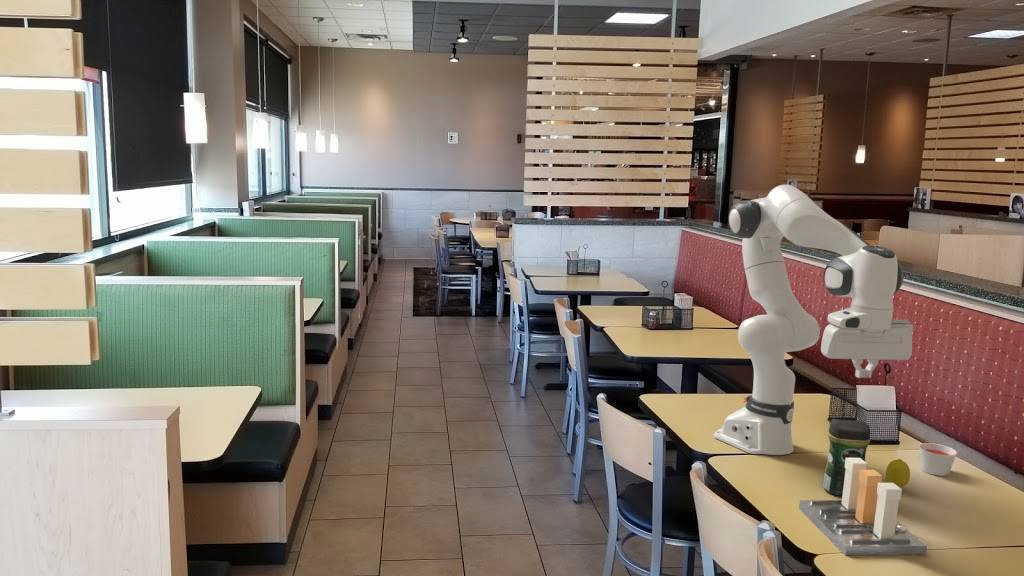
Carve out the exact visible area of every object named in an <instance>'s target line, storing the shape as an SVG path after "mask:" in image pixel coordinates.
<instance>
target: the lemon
mask: <svg viewBox="0 0 1024 576" xmlns="http://www.w3.org/2000/svg"><path fill="white" fill-rule="evenodd" d="M910 477H911V469H910V467H909V465H908V463H907V462H906V461H904V460H902V459H901V458H898V459H894V460H891V461H890V462H889V463H888V465H887V466H886V470H885V478H886V481H887V483H894V484H895V485H897V486H898V487H899V488H903V487H905V486H906V485H907V484H908V483H909V481H910Z"/></svg>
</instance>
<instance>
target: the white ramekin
mask: <svg viewBox="0 0 1024 576" xmlns="http://www.w3.org/2000/svg"><path fill="white" fill-rule="evenodd" d="M918 450H919V452H918V453H919V465H920V469H921V471H923V472H925V474H926V473H927V474H929V475H933V476H938V477H939V476H940V477H942V476H943V477H944V476H948V475H949V474H950V473H951V469H952V467H953V464H954V462H955V459H956V457H957V456H956V455H957V450H955V449H954V448H952V447H950V446H947V445H944V444H939V443H935V442H933V443H932V442H923V443H922V442H921V443H920V444H919V445H918Z"/></svg>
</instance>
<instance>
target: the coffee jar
mask: <svg viewBox="0 0 1024 576" xmlns="http://www.w3.org/2000/svg"><path fill="white" fill-rule="evenodd" d="M827 432H828V433H827V436H828V439H829V449H828V456H827V461H826V464H825V469H824V473H823V480H822V486H823V488H824V490H825V491H826V492H828V493H829V494H831V495H834V496H840V497H842V495H843V487H844V479H845V470H846V468H845V460H846V458H861V459H862V460H863V461H865V462H866V453H867V449H868V446H869V445H870V443H871V429H870V425H869V424H868V423H867V422H865V421H864V420H853V419H852V420H849V419H837V418H836V419H835V418H832V419H831V420H830V423H829V428H828V431H827Z"/></svg>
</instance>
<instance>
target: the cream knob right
mask: <svg viewBox="0 0 1024 576" xmlns="http://www.w3.org/2000/svg"><path fill="white" fill-rule="evenodd" d="M902 491H903V489H902V487H898V486H897V485H895V484H894V483H889V482H882V483H878V487H877V494H878V498H877V506H876V514H875V521H874V529H873V533H874V534H876V535H877V536H878V537H879V538H880V539H894V534H895V527H896V521H897V518H898V510H899V502H900V501H901V499H902Z"/></svg>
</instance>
